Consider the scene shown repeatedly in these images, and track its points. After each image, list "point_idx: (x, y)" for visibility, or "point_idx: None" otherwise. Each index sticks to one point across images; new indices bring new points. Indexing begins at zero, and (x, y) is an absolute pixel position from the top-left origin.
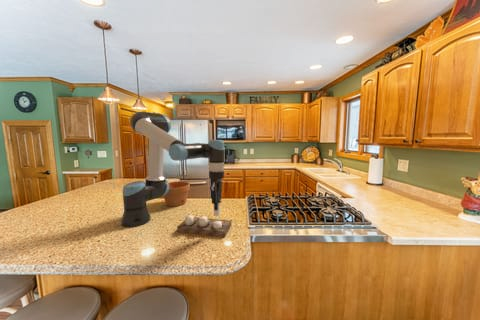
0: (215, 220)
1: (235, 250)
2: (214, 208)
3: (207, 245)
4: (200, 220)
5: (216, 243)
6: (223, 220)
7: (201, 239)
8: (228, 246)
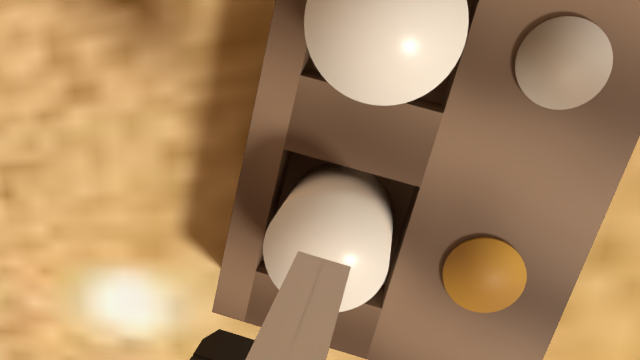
0: (556, 191)
1: (24, 354)
2: (195, 355)
3: (71, 111)
4: None
5: (113, 198)
6: (538, 306)
7: (181, 26)
8: (74, 305)
